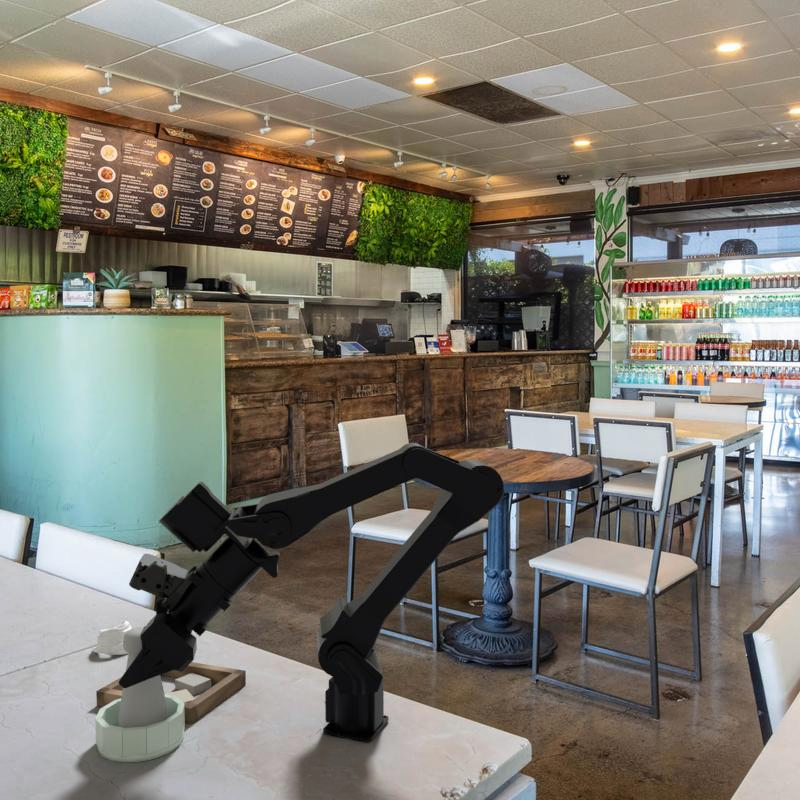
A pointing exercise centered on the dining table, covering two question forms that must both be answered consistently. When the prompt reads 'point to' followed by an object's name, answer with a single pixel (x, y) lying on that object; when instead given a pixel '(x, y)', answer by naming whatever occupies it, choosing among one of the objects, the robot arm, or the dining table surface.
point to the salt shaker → (141, 692)
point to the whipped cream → (112, 640)
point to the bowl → (139, 734)
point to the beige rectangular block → (182, 695)
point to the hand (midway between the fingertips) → (128, 671)
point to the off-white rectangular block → (193, 683)
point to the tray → (225, 687)
